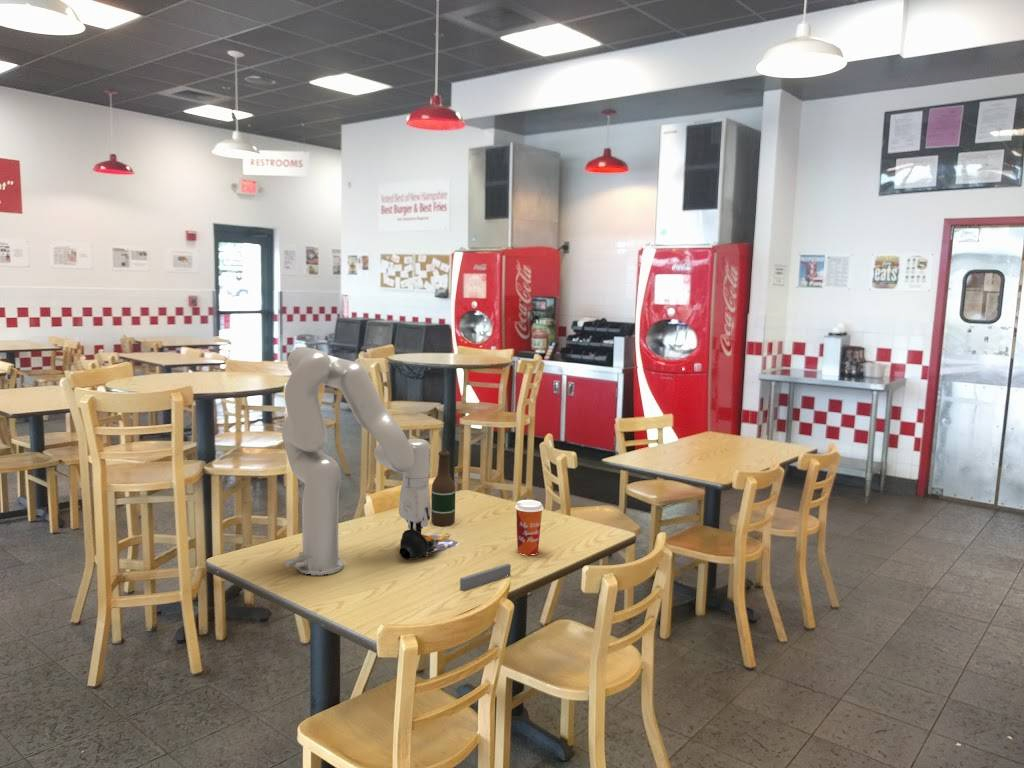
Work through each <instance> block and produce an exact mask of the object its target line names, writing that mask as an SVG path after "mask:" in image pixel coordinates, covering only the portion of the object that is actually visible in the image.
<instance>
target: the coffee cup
mask: <svg viewBox="0 0 1024 768" xmlns="http://www.w3.org/2000/svg"><path fill="white" fill-rule="evenodd" d="M515 510H516V511H515V512H516V539H517V540H516V542H517V543H516V544H517V546H516V547H517V553H518V554H519V553H521V554H525V555H531V554H536V553H537V552H538V553H539V548H540V547H539V545H540V538H541V537H540V536H541V535H540V534H541V524H542V513H543V510H544V506H543V504H542V502H541V501H538V500H534V499H521V500H517V502H516V505H515ZM538 553H537V554H538ZM521 554H520V555H521ZM537 554H536V555H537Z"/></svg>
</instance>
